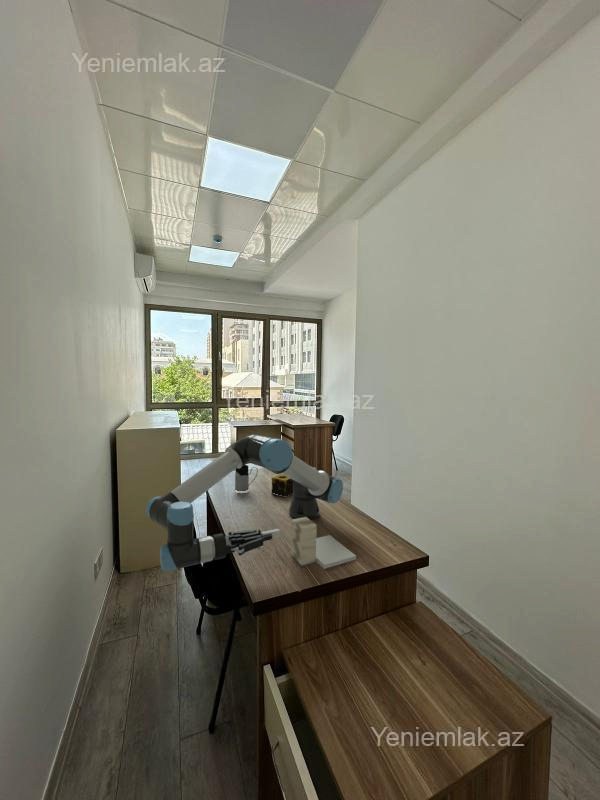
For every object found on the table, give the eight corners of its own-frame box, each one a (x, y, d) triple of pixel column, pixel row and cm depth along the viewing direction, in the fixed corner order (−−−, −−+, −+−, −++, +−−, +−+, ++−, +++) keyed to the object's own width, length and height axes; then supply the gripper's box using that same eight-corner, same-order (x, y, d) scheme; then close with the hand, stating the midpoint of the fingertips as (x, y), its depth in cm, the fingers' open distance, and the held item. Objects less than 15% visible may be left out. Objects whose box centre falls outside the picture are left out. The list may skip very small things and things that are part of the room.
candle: (295, 493, 193) (295, 476, 193) (285, 497, 185) (285, 480, 184) (281, 489, 199) (281, 473, 198) (271, 494, 190) (271, 477, 189)
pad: (300, 545, 131) (300, 542, 131) (329, 538, 138) (329, 535, 138) (324, 569, 115) (324, 564, 115) (355, 559, 122) (355, 555, 122)
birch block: (291, 555, 124) (292, 519, 123) (305, 551, 127) (306, 516, 126) (301, 566, 117) (302, 528, 116) (315, 562, 120) (316, 525, 119)
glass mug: (232, 489, 196) (232, 465, 195) (254, 486, 203) (254, 462, 202) (237, 494, 188) (237, 468, 187) (260, 490, 195) (260, 466, 194)
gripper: (207, 549, 111) (271, 535, 122) (217, 569, 100) (286, 551, 111) (207, 528, 111) (272, 515, 122) (217, 545, 99) (287, 530, 110)
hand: (279, 533), depth 116 cm, fingers closed
